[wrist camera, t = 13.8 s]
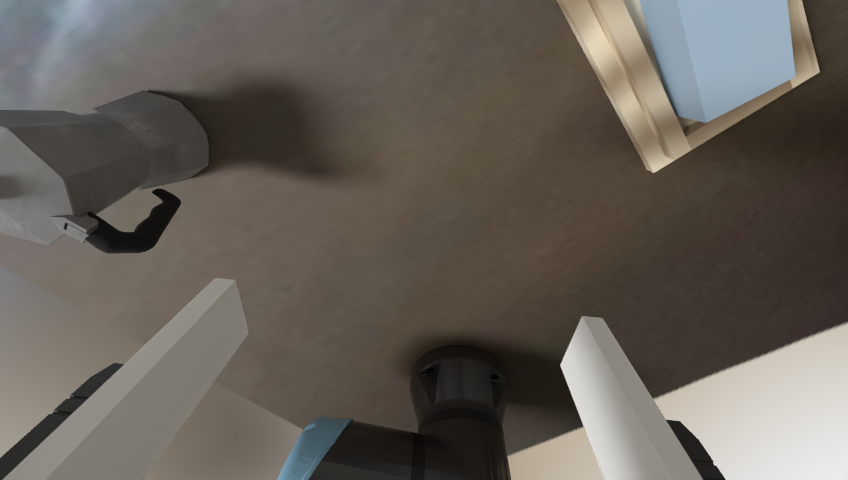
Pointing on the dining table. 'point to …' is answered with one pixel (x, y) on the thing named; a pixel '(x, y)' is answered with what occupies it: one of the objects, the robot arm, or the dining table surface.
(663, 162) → the slot holder
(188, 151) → the coffeepot
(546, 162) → the dining table surface
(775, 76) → the blue block
